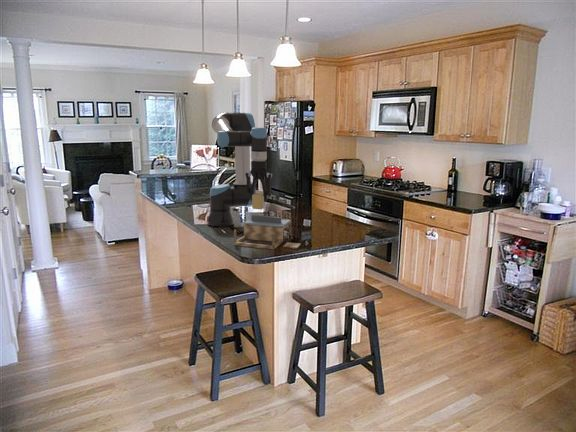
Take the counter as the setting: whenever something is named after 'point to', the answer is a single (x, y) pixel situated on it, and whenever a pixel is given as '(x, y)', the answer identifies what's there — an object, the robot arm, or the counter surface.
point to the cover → (267, 221)
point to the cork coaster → (292, 245)
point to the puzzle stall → (262, 235)
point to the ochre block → (257, 201)
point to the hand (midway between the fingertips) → (258, 207)
